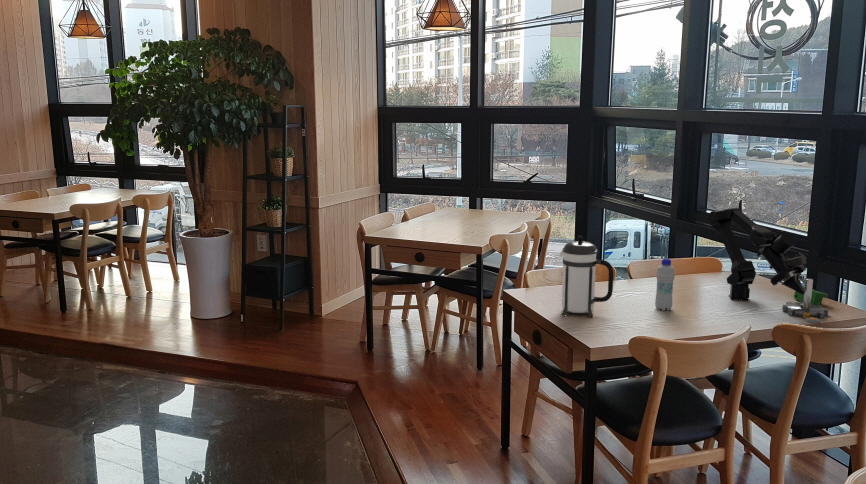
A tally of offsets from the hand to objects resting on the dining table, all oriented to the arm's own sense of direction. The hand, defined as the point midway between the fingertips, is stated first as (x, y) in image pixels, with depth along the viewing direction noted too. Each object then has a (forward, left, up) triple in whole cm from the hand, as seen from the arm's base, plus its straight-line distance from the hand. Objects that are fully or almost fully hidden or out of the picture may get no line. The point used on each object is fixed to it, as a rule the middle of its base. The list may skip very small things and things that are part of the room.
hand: (803, 293), depth 264 cm
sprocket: (+2, +4, -9) cm, 10 cm away
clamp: (+9, +20, -9) cm, 24 cm away
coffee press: (-80, -12, -9) cm, 82 cm away
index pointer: (+2, -6, -9) cm, 11 cm away
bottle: (-49, -1, -9) cm, 50 cm away
